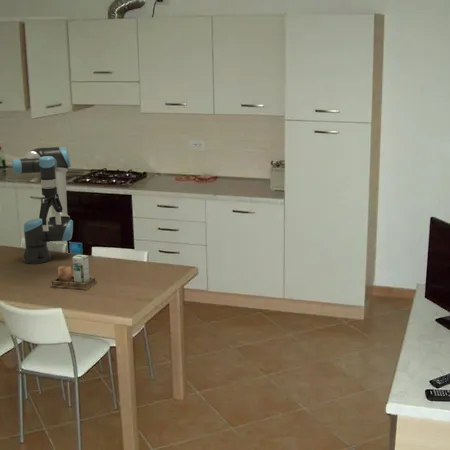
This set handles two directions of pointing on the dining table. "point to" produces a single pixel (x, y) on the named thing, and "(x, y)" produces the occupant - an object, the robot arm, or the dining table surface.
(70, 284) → the caddy
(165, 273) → the dining table surface
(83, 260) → the syrup box
